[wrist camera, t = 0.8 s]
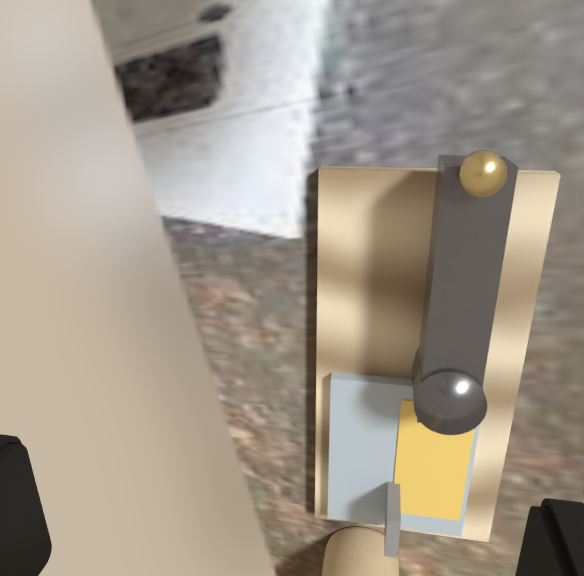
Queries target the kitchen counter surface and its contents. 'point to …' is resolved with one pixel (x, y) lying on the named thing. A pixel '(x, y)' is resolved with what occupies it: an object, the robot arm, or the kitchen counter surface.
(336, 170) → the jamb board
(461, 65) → the kitchen counter surface
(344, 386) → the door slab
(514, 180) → the latch bar
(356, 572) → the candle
